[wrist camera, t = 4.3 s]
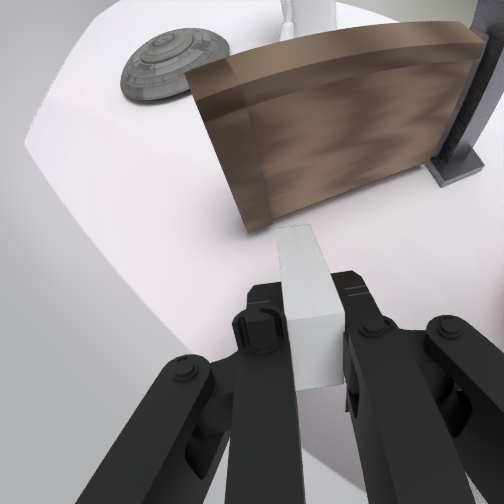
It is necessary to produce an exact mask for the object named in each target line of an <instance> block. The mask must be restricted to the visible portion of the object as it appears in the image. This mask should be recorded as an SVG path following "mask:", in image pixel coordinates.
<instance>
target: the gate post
mask: <svg viewBox="0 0 504 504" xmlns="http://www.w3.org/2000/svg"><path fill="white" fill-rule="evenodd" d="M471 26H475V27H477V28H480V29H481V30H483V31H484V32H486V33H487V34H488V36H489V39H488V42H487V44H486V47H485V50H484V53H483V55H482V58H481V61H480V63H479V66H478V68H477V71H476V73H475V76H474V78H473V81H472V83H471V86H470V88H469V90H468V93H467V95H466V97H465V100H464V102H463V104H462V106H461V109H460V111H459V113H458V115H457V117H456V119H455V122H454V124H453V126H452V128H451V130H450V132H449V134H448V136H447V138H446V140H445V142H444V144H443V146H442V148H441V150H440V152H439V154H438V156H436V157H431V159H430V161H428V162H426V163H425V164H426V166H427V167H428V169H429V170H430V172H431V173H432V175H433V176H434V178H435V179H436V181H437V182H438V184H439V185H440V187H443V186H446V185H448V184H451V183H453V182H455V181H458V180H460V179H463V178H465V177H467V176H470V175H472V174H475V173H477V172H479V171H481V170H482V168H483V167H484V166H485V165H484V164H483V162H482V161H481V159H480V158H479V157H478V155H477V154H476V152H475V151H474V150H473V146H474V144H475V143H476V141H477V139H478V138H479V136H480V134H481V133H482V131H483V129H484V127H485V126H486V124H487V122H488V120H489V118H490V117H491V115H492V113H493V111H494V109H495V107H496V105H497V104H498V102H499V100H500V98H501V96H502V94H503V92H504V0H478V4H477V7H476V11H475V15H474V18H473V22H472V25H471Z"/></svg>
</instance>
